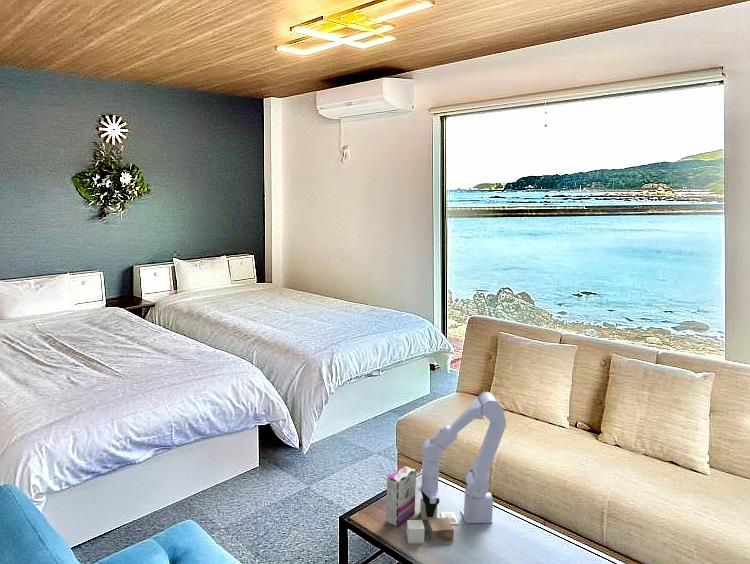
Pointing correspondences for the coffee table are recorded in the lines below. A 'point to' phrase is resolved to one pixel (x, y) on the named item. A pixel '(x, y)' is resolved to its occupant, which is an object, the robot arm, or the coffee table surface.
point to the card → (450, 517)
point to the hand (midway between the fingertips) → (428, 512)
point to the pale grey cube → (415, 531)
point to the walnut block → (440, 529)
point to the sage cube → (423, 511)
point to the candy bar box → (400, 495)
